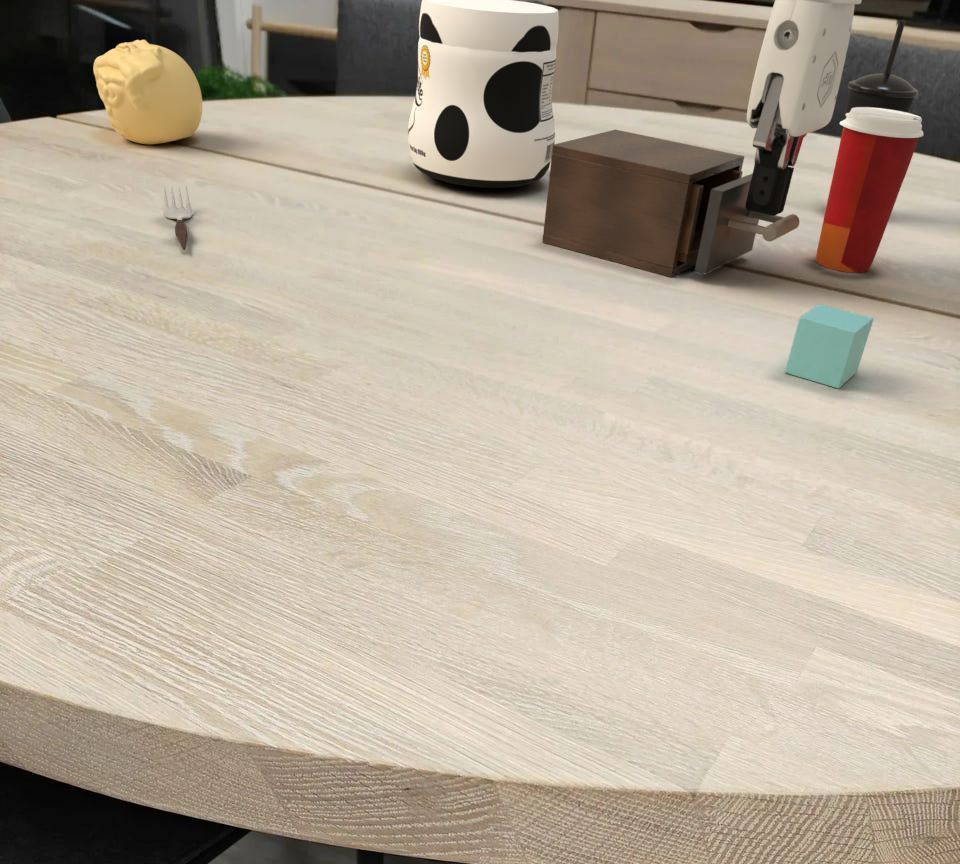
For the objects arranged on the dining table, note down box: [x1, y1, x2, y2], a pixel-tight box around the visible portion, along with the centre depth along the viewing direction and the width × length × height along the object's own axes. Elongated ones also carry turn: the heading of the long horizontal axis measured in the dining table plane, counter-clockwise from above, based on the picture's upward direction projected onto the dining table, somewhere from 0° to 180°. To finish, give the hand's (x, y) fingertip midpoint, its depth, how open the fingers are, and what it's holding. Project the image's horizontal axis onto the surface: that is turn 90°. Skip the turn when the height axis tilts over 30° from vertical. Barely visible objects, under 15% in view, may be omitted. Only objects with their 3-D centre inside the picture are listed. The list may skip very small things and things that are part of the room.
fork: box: [163, 186, 193, 251], centre depth 95 cm, size 3×16×2 cm, turn 16°
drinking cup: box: [839, 19, 919, 142], centre depth 115 cm, size 8×8×20 cm
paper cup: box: [815, 107, 925, 273], centre depth 99 cm, size 8×8×14 cm
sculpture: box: [92, 39, 203, 145], centre depth 121 cm, size 11×12×11 cm
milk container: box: [407, 0, 560, 189], centre depth 115 cm, size 17×17×18 cm
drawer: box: [677, 169, 800, 275], centre depth 97 cm, size 18×11×7 cm, turn 55°
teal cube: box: [784, 303, 874, 389], centre depth 77 cm, size 4×4×4 cm
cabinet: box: [541, 129, 745, 278], centre depth 99 cm, size 15×13×9 cm
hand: (763, 210), depth 93 cm, fingers closed
